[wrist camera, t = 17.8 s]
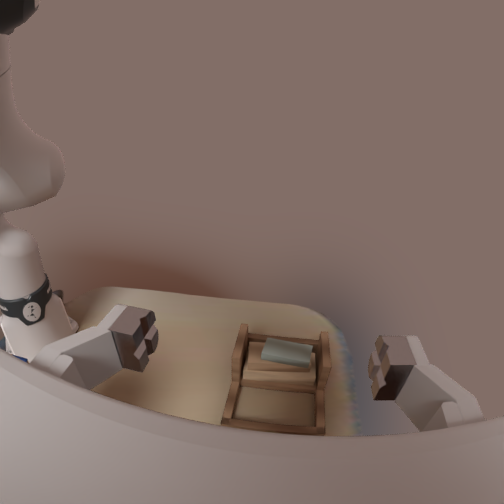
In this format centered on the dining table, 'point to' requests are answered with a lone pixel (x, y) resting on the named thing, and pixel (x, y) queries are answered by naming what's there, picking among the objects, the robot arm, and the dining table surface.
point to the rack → (279, 375)
